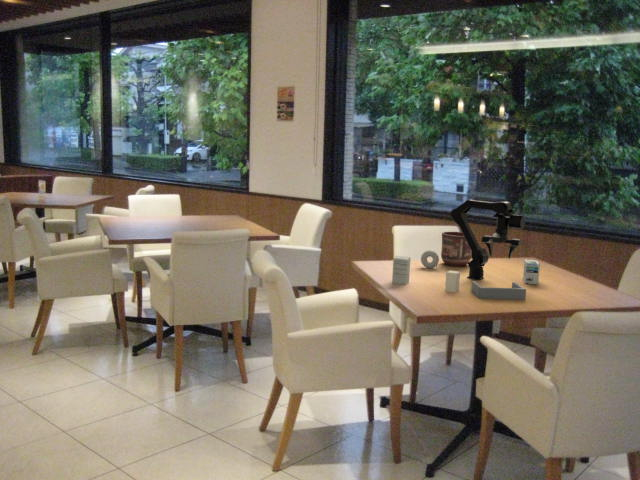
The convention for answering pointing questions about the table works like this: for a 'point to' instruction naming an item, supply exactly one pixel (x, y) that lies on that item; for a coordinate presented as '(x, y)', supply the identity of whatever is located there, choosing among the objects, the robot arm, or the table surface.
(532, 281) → the light bulb box
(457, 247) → the pottery
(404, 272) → the supplement box
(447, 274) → the cream block
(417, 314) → the table surface
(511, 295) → the open-front crate
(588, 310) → the table surface
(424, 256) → the grey ring
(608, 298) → the table surface
